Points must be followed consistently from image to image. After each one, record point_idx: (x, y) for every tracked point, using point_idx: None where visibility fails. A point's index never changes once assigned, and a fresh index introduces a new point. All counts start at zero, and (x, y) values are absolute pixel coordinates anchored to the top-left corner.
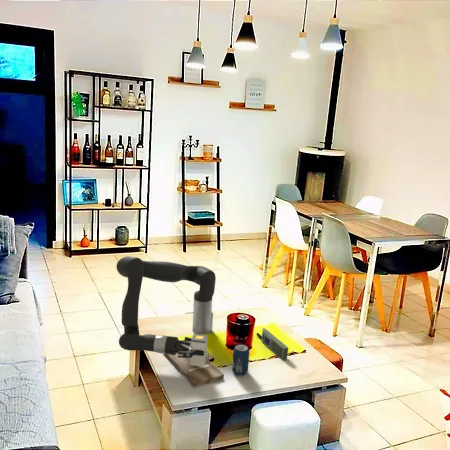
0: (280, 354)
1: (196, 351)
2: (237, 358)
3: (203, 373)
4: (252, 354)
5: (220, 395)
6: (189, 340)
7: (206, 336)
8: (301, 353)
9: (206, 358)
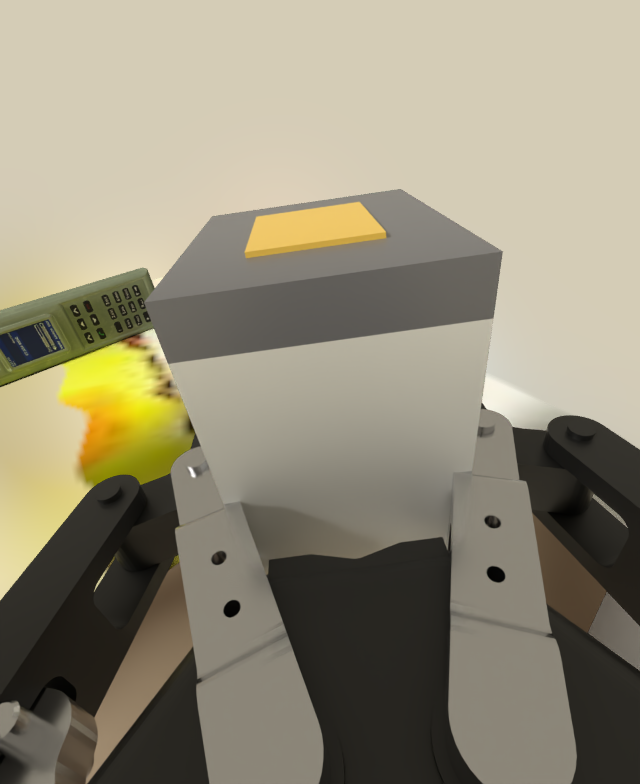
0: (143, 313)
1: None
2: None
3: None
4: (103, 393)
5: (545, 407)
6: (54, 656)
7: (240, 215)
8: None
9: (175, 569)
